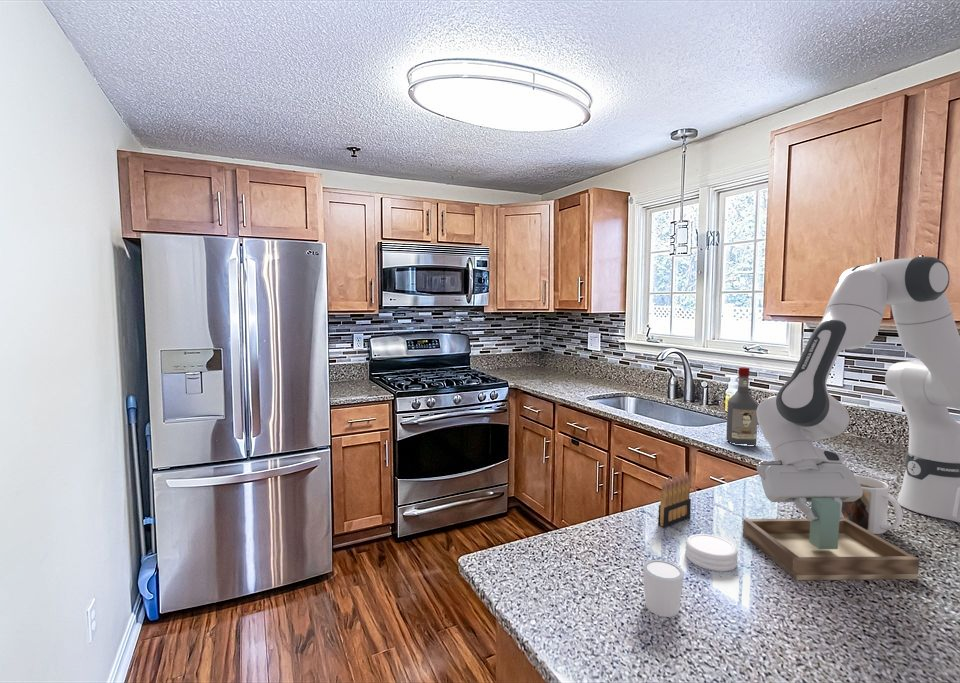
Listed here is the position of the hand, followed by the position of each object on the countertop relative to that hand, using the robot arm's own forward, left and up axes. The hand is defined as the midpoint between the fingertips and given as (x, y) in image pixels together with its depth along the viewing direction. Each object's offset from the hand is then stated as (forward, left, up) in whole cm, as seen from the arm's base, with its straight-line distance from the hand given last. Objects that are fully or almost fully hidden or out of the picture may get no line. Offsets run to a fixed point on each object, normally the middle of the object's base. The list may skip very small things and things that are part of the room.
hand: (827, 520), depth 102 cm
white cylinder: (+42, +16, -8) cm, 46 cm away
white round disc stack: (+25, 0, -8) cm, 26 cm away
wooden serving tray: (0, -1, -8) cm, 8 cm away
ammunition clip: (+25, -18, -8) cm, 32 cm away
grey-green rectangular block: (0, -1, -6) cm, 6 cm away
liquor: (-31, -86, -8) cm, 91 cm away
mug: (-20, -14, -8) cm, 26 cm away
